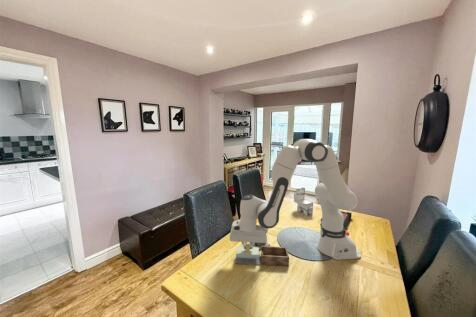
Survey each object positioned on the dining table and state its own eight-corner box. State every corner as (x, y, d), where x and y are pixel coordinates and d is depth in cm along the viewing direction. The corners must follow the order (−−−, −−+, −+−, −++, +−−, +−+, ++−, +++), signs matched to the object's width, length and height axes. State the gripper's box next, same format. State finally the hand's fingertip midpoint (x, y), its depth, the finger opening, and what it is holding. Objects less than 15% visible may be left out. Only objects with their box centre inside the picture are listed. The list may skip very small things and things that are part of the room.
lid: (258, 248, 111) (258, 240, 110) (258, 256, 105) (258, 247, 104) (238, 247, 112) (238, 239, 111) (237, 255, 106) (237, 246, 105)
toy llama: (307, 217, 160) (309, 193, 157) (293, 209, 175) (294, 187, 172) (314, 215, 163) (316, 192, 160) (299, 208, 178) (300, 186, 176)
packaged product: (240, 231, 130) (252, 227, 135) (240, 238, 130) (252, 233, 136) (257, 244, 115) (270, 239, 120) (257, 251, 115) (270, 246, 121)
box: (286, 255, 112) (286, 247, 111) (288, 266, 103) (289, 257, 102) (261, 254, 113) (261, 245, 112) (261, 264, 104) (262, 256, 103)
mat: (259, 253, 113) (259, 252, 113) (260, 265, 103) (260, 264, 103) (237, 252, 114) (237, 251, 114) (235, 263, 105) (235, 263, 105)
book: (327, 213, 168) (328, 207, 168) (351, 218, 158) (351, 212, 157) (319, 224, 148) (319, 218, 147) (345, 232, 137) (345, 225, 137)
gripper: (267, 222, 108) (266, 246, 110) (230, 221, 110) (230, 244, 112) (268, 228, 102) (267, 253, 104) (229, 226, 104) (229, 251, 106)
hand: (248, 248), depth 108 cm, fingers closed on lid
